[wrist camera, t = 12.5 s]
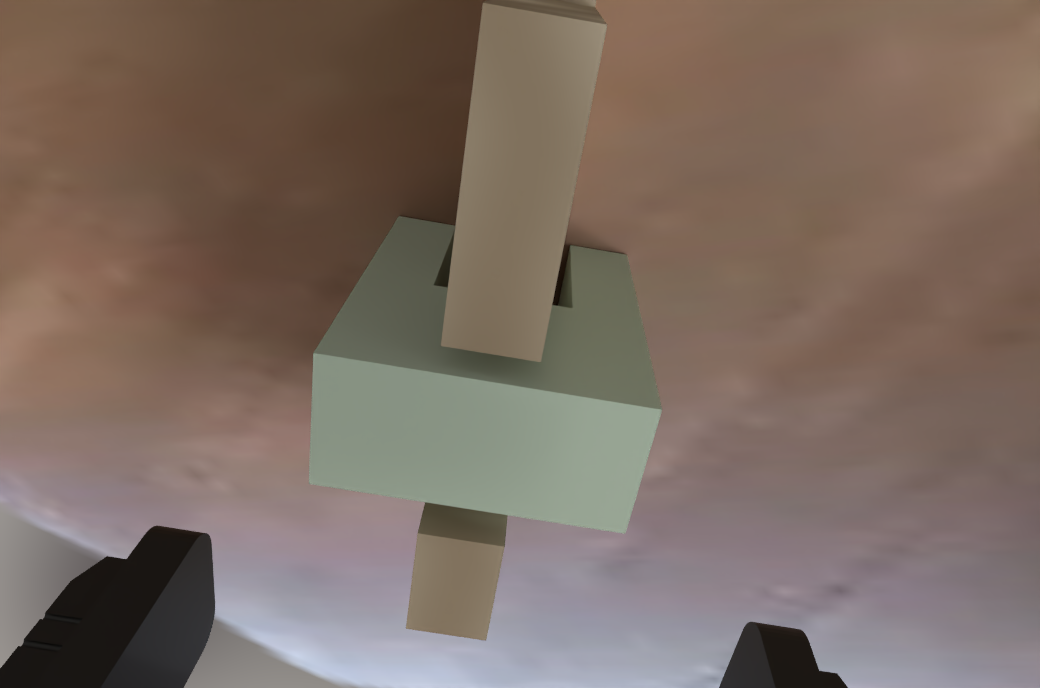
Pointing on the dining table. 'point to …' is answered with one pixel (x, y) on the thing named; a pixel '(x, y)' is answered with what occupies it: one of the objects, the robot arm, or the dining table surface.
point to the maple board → (506, 255)
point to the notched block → (485, 394)
